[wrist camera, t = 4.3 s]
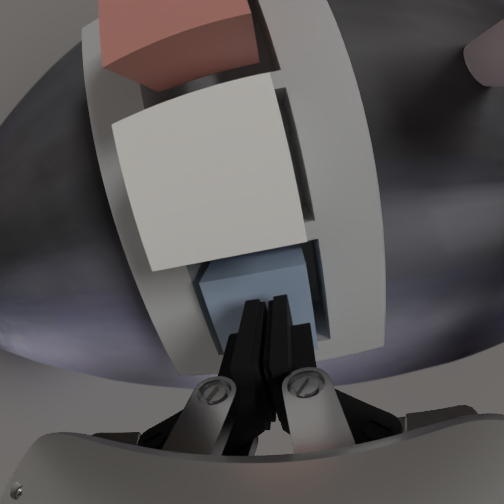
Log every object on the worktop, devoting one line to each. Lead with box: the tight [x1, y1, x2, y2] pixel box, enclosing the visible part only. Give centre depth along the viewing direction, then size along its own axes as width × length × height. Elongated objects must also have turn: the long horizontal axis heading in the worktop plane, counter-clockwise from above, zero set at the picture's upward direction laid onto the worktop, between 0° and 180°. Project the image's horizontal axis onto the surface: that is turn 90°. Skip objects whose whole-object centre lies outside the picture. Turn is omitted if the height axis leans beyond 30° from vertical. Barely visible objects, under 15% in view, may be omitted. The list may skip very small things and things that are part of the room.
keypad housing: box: [82, 0, 386, 375], centre depth 13 cm, size 12×21×5 cm, turn 13°
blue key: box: [199, 243, 318, 352], centre depth 14 cm, size 4×4×4 cm
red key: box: [98, 0, 260, 92], centre depth 7 cm, size 4×4×4 cm
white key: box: [112, 72, 307, 272], centre depth 9 cm, size 4×4×4 cm
